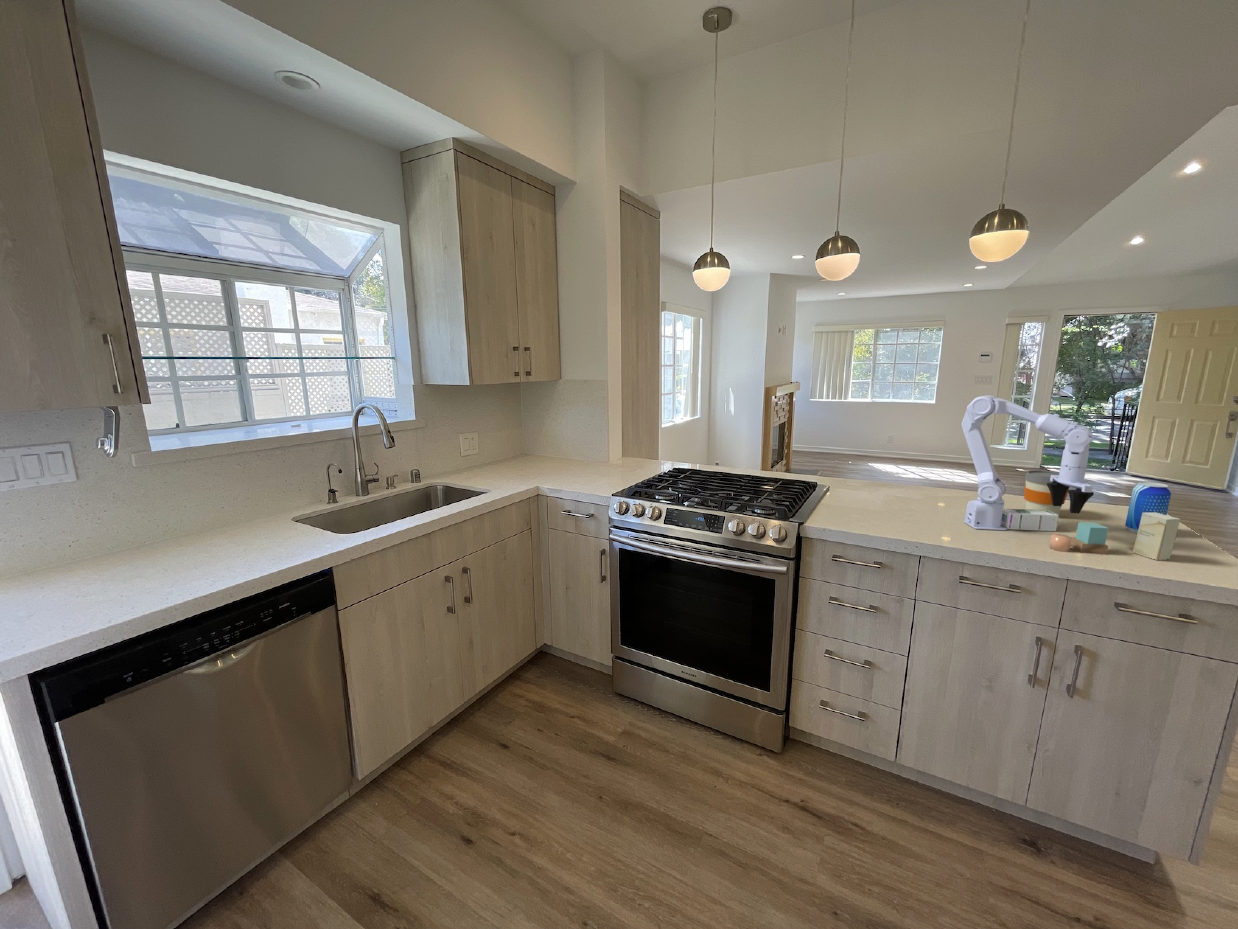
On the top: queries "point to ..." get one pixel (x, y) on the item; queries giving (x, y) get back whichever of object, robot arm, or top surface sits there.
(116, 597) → the top surface
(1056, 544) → the peach round piece
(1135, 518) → the beer can
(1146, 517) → the skincare box
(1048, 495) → the reusable coffee cup
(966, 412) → the robot arm
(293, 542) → the top surface
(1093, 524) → the teal block
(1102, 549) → the walnut block
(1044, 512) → the syrup box
